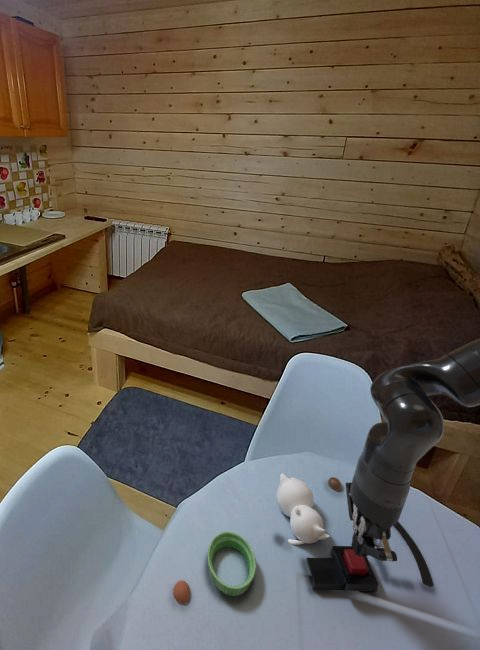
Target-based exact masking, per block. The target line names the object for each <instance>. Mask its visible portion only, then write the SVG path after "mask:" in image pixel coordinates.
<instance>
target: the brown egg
mask: <svg viewBox="0 0 480 650" xmlns="http://www.w3.org/2000/svg"><path fill="white" fill-rule="evenodd" d="M172 592H173V597H174V599H175V601H176V602H177V603H179V604H185V603H187V602H188V601H189V599H190V597H191V588H190V586H189V583H187V582H186V581H185V580H178V581H177V582H176V583H175V584H174V586H173V591H172Z"/></svg>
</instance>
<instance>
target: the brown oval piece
mask: <svg viewBox="0 0 480 650" xmlns="http://www.w3.org/2000/svg"><path fill="white" fill-rule="evenodd" d="M327 485H328V486H329V488H330V489H331V490H333V491H334V492H340V491H342V489H343V488H342V487H343V484H342V482H341V481H340V479H339V478H338V477H335V476H332V477H330V478H328V480H327Z"/></svg>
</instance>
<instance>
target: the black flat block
mask: <svg viewBox="0 0 480 650" xmlns="http://www.w3.org/2000/svg"><path fill="white" fill-rule="evenodd" d="M345 549H349V550H353V548H352V545H331V550H330V555H331V557H306V560H305V561H306V563H307V566H308V567H307V568H308V570H309V573H310V574H308V578H309V582H310V585H311V588H312V590H313V591H340V592H341V591H346V592H347V591H349V592H350V591H351V592H356V591H357V592H377V591H378V588H379V586H380V583H379V581H378V579H377V577H376V574H375V572H374V570H373V568H372V565H371V563H370V561H369V559H368V556H367V557H364V560H365V562H366V564H367V566H368V572H367V575H366V576H361V575H350V573H349V571H348V568H347V566H346V563H345V560H344V558H343V554H344V551H345Z"/></svg>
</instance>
